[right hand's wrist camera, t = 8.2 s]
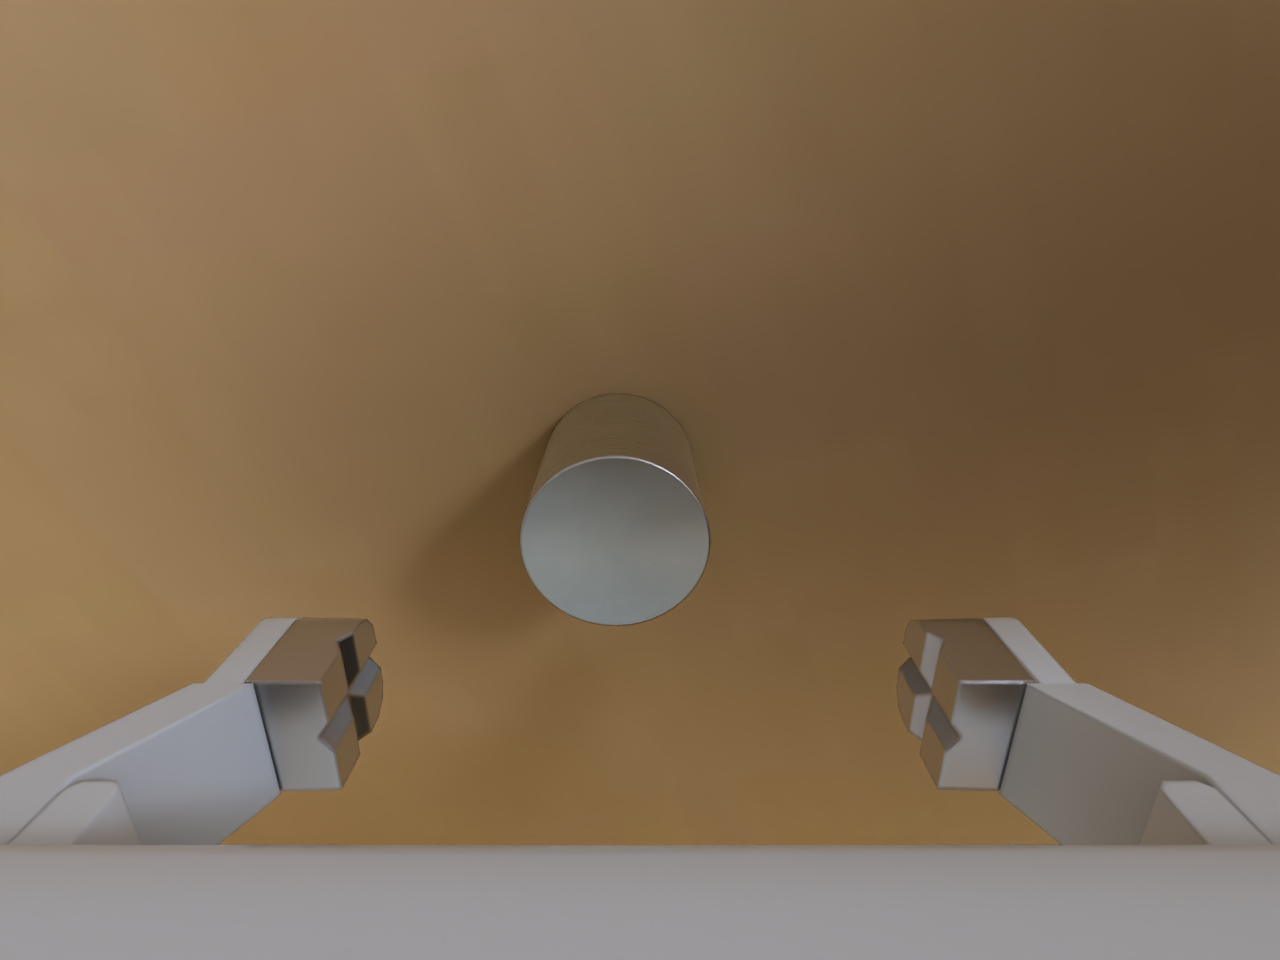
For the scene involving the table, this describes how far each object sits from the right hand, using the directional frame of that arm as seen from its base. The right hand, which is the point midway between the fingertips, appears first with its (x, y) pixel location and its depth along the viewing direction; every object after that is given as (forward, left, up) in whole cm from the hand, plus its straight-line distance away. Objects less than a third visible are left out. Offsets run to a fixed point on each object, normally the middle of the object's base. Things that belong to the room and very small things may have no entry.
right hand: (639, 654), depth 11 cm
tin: (0, -1, -8) cm, 8 cm away
